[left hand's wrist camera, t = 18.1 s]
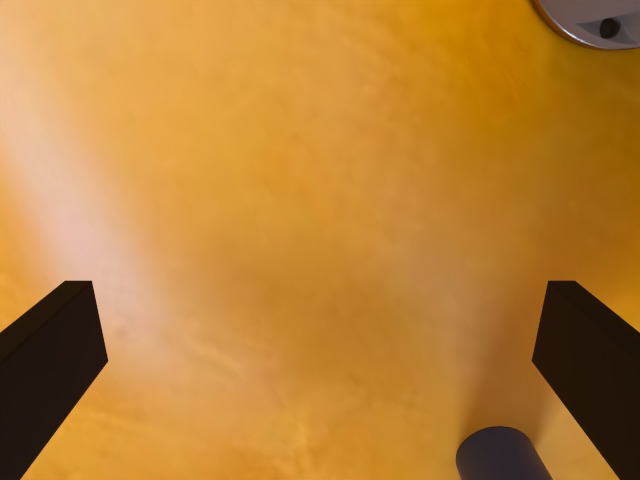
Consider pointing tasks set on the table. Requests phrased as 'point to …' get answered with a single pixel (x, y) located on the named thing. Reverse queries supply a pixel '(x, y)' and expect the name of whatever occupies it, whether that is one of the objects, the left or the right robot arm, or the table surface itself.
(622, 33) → the left robot arm
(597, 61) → the table surface
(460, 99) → the table surface
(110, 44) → the table surface
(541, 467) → the can
